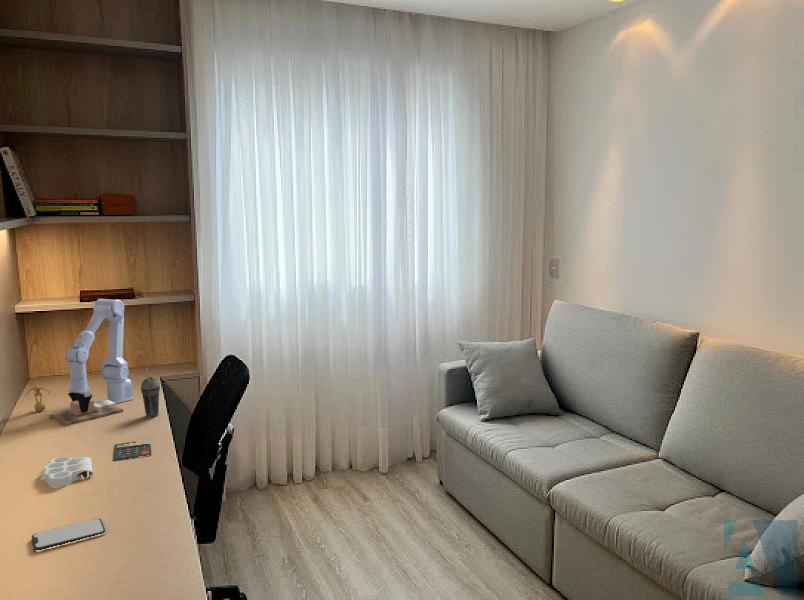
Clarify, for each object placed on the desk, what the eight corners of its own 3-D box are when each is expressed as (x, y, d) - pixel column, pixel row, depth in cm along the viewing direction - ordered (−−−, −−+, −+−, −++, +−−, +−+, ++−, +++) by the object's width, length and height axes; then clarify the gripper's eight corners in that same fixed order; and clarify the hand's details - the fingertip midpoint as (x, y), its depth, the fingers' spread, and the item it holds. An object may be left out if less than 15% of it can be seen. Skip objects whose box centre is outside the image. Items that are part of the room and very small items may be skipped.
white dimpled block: (93, 482, 192) (38, 492, 186) (91, 461, 208) (40, 470, 202) (92, 472, 192) (37, 482, 185) (90, 451, 208) (39, 460, 201)
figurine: (52, 408, 261) (49, 380, 259) (50, 412, 256) (48, 384, 254) (29, 410, 258) (26, 382, 256) (27, 415, 253) (24, 386, 251)
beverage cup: (166, 414, 253) (162, 365, 250) (152, 419, 246) (148, 370, 243) (152, 411, 256) (149, 363, 253) (138, 417, 250) (134, 368, 246)
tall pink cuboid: (89, 408, 256) (88, 397, 256) (94, 411, 253) (93, 400, 252) (71, 413, 251) (70, 402, 250) (76, 415, 248) (75, 404, 247)
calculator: (113, 459, 207) (114, 443, 221) (113, 462, 207) (115, 446, 221) (151, 454, 212) (150, 438, 225) (151, 456, 212) (150, 441, 225)
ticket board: (105, 403, 267) (104, 396, 266) (123, 411, 257) (122, 404, 256) (49, 417, 250) (49, 409, 250) (66, 426, 240) (65, 418, 240)
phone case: (100, 522, 169) (31, 539, 160) (100, 517, 168) (31, 533, 160) (106, 537, 161) (34, 555, 153) (106, 531, 161) (34, 549, 152)
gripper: (60, 376, 251) (63, 409, 253) (75, 383, 242) (78, 417, 244) (78, 372, 257) (81, 405, 259) (94, 379, 247) (97, 412, 249)
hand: (81, 410), depth 252 cm, fingers closed on tall pink cuboid, 5 cm apart
